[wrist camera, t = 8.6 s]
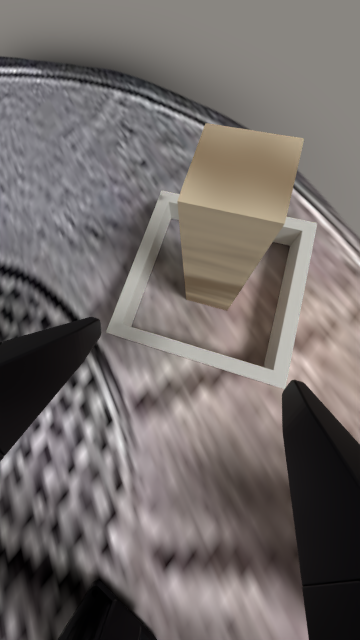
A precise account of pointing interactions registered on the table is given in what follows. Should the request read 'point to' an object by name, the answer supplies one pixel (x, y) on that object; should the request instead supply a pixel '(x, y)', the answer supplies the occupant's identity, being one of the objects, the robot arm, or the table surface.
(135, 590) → the table surface
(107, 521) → the table surface
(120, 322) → the tray
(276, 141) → the tan square block
